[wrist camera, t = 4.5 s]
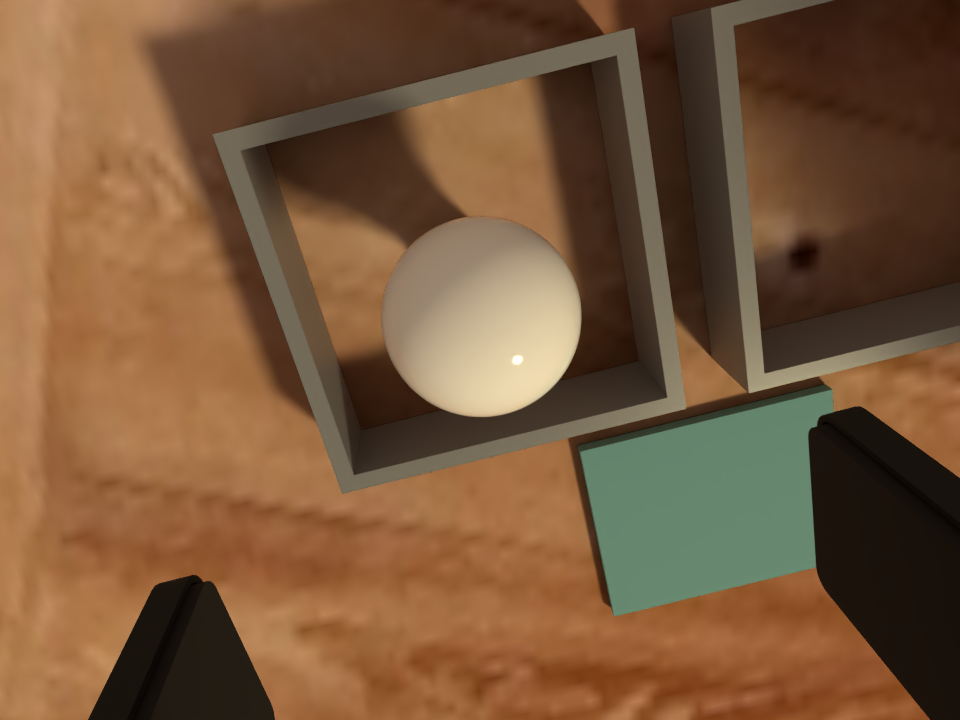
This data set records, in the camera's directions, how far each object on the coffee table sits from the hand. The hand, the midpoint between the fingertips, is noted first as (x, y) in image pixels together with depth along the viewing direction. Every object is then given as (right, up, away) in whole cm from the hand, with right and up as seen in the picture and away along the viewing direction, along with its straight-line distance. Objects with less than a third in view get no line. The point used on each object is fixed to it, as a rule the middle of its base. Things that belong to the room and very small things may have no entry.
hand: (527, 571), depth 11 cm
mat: (+11, -4, +25) cm, 27 cm away
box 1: (-1, +7, +19) cm, 21 cm away
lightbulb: (-1, +8, +19) cm, 21 cm away
